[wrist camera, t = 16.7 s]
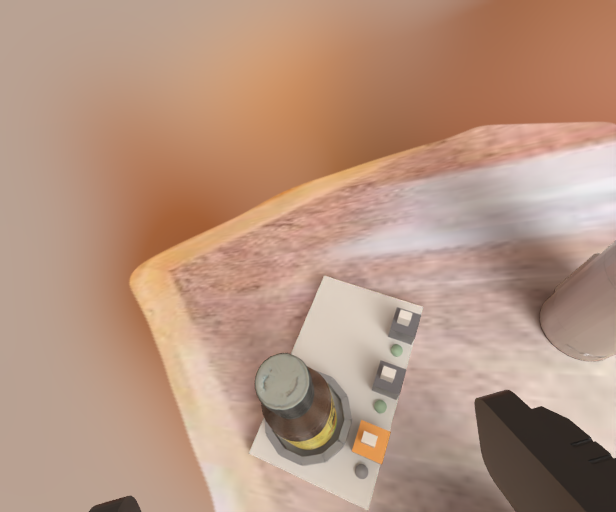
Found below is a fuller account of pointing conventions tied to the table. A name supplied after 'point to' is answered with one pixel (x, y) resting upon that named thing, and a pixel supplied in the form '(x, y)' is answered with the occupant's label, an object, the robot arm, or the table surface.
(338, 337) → the breaker board
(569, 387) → the table surface
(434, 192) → the table surface
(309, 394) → the sauce bottle
